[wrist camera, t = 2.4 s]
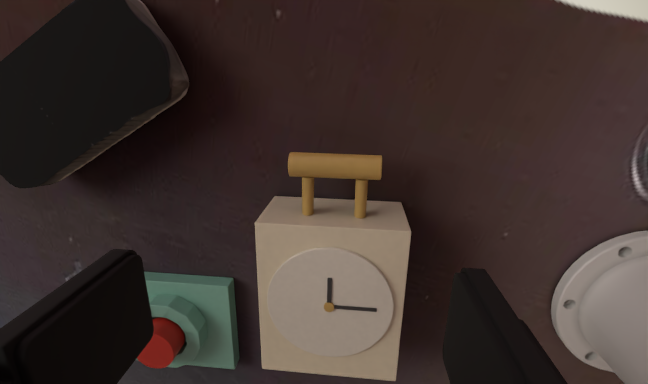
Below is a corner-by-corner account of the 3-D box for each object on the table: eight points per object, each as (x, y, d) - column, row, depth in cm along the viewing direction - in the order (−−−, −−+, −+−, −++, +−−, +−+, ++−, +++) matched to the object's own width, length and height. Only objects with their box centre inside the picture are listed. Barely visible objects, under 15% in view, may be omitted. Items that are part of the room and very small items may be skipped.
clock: (406, 146, 25) (420, 166, 19) (389, 329, 30) (396, 387, 25) (273, 142, 26) (248, 159, 20) (278, 320, 31) (260, 374, 25)
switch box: (233, 277, 30) (220, 297, 28) (239, 358, 33) (228, 384, 30) (117, 269, 31) (93, 288, 29) (132, 348, 34) (112, 372, 31)
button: (182, 318, 29) (170, 335, 27) (187, 352, 30) (176, 370, 28) (142, 315, 30) (128, 331, 28) (148, 349, 31) (135, 366, 29)
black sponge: (59, 186, 29) (19, 201, 26) (-11, 98, 27) (-65, 100, 24) (209, 88, 26) (186, 89, 22) (140, -23, 24) (102, -41, 20)
